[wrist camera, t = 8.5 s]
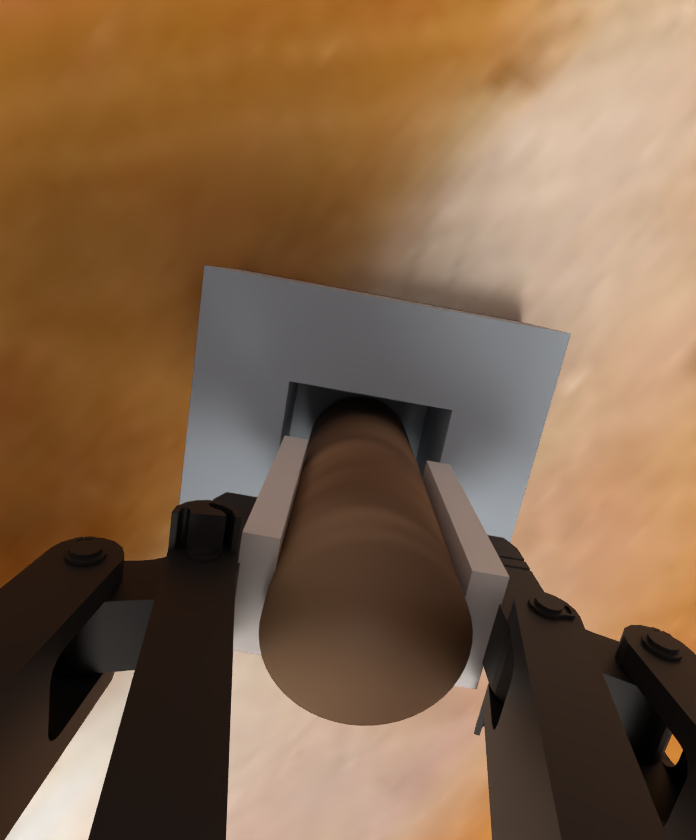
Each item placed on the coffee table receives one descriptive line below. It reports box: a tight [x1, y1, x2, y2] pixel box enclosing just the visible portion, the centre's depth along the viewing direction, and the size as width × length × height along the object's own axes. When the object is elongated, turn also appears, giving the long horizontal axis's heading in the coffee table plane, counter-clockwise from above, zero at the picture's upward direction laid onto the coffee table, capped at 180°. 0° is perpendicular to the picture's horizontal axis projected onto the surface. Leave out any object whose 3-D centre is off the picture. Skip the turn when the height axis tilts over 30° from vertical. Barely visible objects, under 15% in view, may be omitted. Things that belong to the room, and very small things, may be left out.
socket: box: [179, 265, 570, 542], centre depth 21 cm, size 12×12×5 cm
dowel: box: [259, 397, 473, 726], centre depth 15 cm, size 4×4×12 cm
